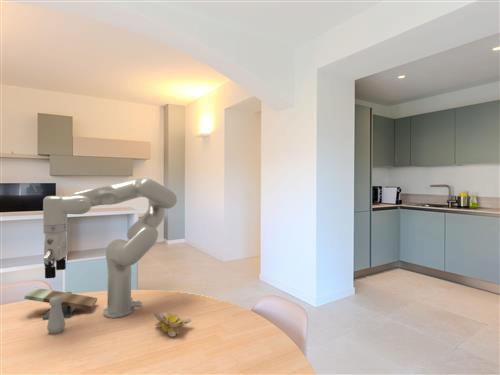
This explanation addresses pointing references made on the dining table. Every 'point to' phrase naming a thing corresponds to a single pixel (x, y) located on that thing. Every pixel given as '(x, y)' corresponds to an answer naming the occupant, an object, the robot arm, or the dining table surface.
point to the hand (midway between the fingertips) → (55, 273)
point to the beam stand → (66, 311)
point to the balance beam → (68, 298)
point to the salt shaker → (56, 316)
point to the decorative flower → (170, 322)
